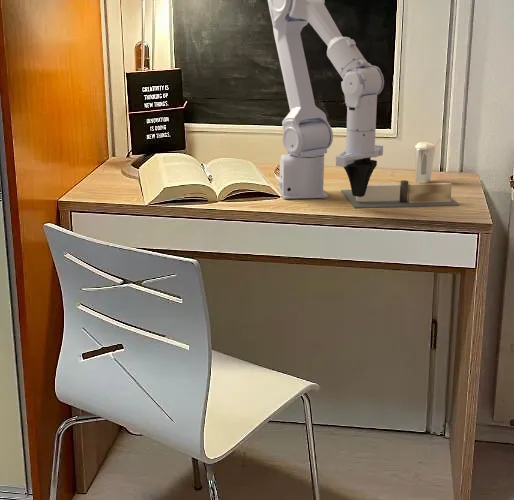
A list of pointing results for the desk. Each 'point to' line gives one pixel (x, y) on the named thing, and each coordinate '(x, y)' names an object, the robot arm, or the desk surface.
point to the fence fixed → (425, 192)
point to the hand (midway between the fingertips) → (358, 195)
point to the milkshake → (424, 161)
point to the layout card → (392, 202)
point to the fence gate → (381, 192)
